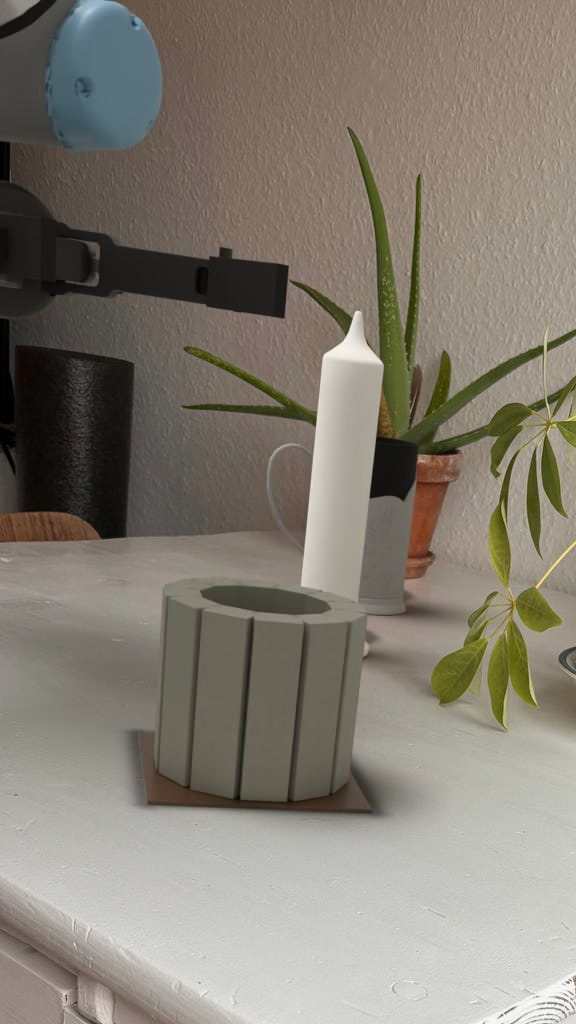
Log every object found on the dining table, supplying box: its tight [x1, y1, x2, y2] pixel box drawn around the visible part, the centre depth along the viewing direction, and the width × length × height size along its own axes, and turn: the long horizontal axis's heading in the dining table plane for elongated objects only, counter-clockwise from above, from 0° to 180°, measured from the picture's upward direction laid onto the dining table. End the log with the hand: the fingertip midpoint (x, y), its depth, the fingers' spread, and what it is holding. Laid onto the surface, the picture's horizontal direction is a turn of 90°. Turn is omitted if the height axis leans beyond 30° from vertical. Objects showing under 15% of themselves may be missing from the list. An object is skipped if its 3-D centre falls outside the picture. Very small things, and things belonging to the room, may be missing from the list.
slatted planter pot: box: [154, 576, 369, 802], centre depth 66 cm, size 10×10×9 cm
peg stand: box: [137, 730, 373, 814], centre depth 67 cm, size 11×11×7 cm
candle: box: [300, 310, 385, 658], centre depth 98 cm, size 7×7×25 cm
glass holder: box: [266, 435, 420, 616], centre depth 117 cm, size 9×14×15 cm, turn 113°
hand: (174, 272), depth 65 cm, fingers open, 13 cm apart
